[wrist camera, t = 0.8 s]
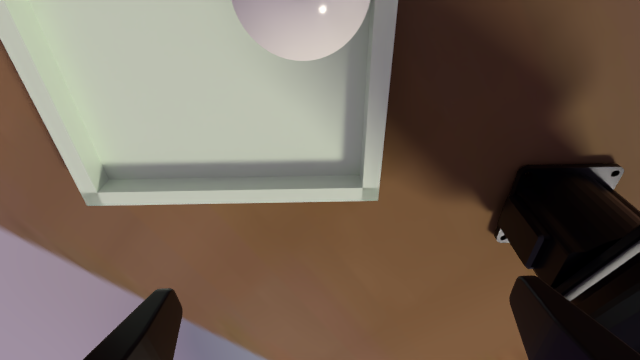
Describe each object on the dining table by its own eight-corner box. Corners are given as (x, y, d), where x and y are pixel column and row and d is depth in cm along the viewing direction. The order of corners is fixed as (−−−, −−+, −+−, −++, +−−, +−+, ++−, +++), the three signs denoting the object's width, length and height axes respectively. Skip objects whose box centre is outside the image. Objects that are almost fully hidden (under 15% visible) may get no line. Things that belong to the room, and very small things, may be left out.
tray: (402, -146, 14) (414, -159, 12) (373, 182, 23) (377, 200, 21) (-47, -137, 14) (-97, -148, 12) (103, 186, 23) (87, 205, 21)
